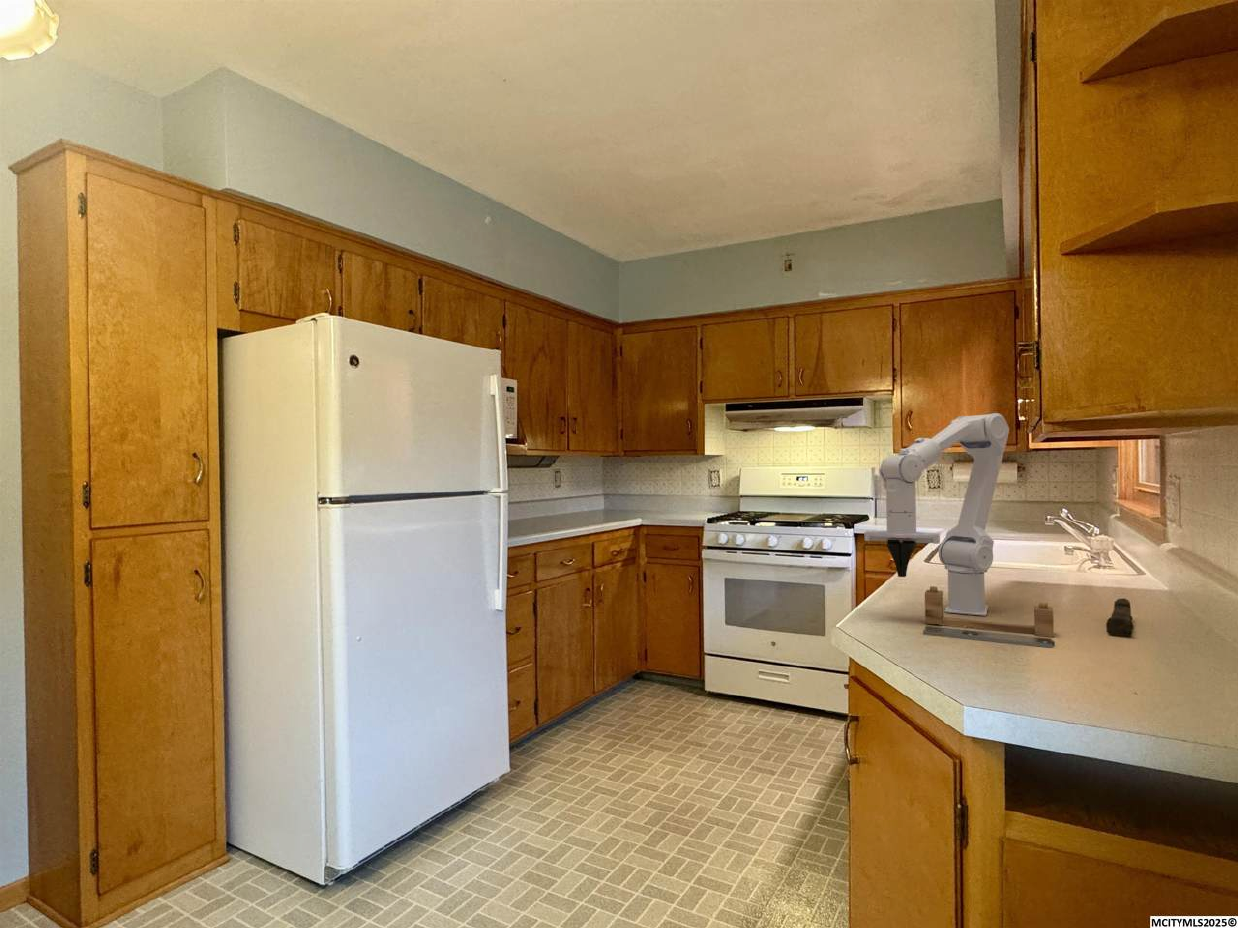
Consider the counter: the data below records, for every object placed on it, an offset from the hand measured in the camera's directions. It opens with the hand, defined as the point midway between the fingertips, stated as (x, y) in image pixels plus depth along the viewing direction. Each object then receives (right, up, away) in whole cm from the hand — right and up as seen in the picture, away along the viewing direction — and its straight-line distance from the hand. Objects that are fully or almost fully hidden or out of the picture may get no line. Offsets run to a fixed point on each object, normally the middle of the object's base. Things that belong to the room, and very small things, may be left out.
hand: (902, 576), depth 139 cm
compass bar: (+13, -9, -8) cm, 18 cm away
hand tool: (+39, -9, -8) cm, 41 cm away
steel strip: (+9, -9, -15) cm, 20 cm away
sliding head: (+5, -9, -3) cm, 11 cm away
